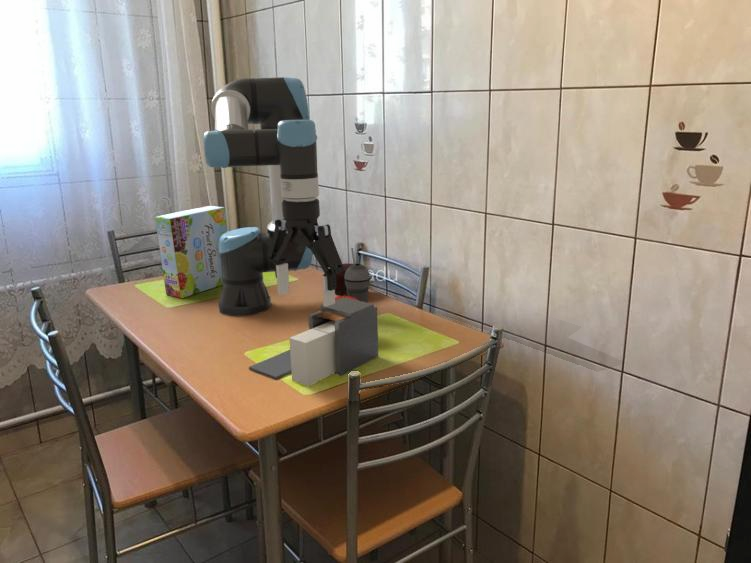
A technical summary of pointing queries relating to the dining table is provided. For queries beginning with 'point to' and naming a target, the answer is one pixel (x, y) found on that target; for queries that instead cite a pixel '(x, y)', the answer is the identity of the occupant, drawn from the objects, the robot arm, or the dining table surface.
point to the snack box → (191, 249)
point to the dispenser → (350, 331)
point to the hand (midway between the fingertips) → (305, 299)
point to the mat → (274, 366)
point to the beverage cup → (357, 281)
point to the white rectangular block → (313, 354)
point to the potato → (341, 281)
